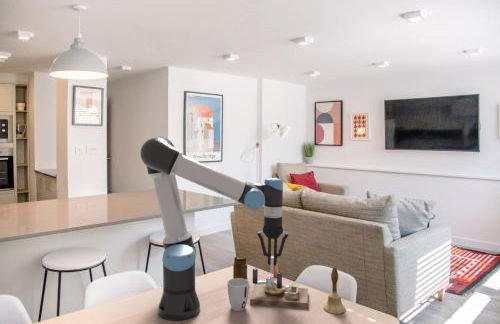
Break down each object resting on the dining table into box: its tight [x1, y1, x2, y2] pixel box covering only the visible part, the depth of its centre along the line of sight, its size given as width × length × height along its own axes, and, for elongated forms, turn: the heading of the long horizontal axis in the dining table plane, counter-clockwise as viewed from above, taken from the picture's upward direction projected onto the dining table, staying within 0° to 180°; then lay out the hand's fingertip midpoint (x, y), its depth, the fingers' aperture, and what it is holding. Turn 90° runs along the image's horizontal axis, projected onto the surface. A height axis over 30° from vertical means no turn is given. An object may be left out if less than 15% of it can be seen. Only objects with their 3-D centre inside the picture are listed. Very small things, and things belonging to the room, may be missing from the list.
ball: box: [284, 285, 292, 292], centre depth 156 cm, size 3×3×3 cm
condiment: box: [232, 255, 251, 289], centre depth 169 cm, size 7×8×12 cm
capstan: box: [252, 263, 285, 296], centre depth 155 cm, size 13×12×10 cm
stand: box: [249, 284, 309, 309], centre depth 156 cm, size 22×14×4 cm, turn 82°
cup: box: [227, 278, 250, 312], centre depth 147 cm, size 8×8×10 cm
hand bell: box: [322, 266, 346, 315], centre depth 147 cm, size 8×8×16 cm
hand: (271, 272), depth 162 cm, fingers closed
